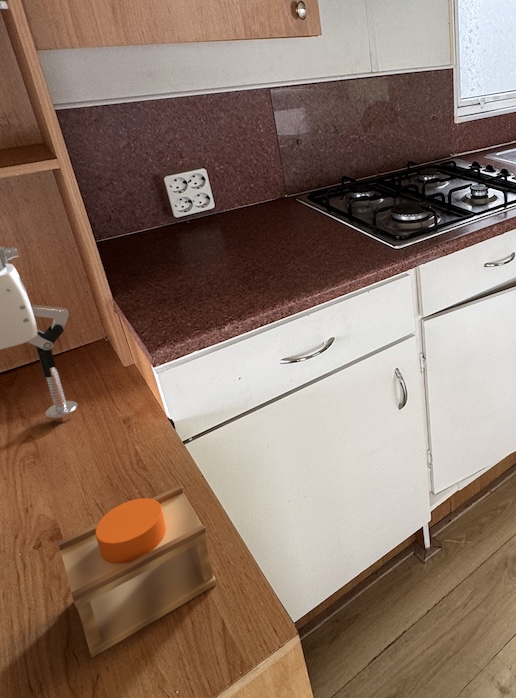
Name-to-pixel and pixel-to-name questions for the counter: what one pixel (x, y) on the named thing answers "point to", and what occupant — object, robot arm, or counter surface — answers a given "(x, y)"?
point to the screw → (59, 400)
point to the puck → (130, 530)
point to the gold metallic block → (138, 576)
